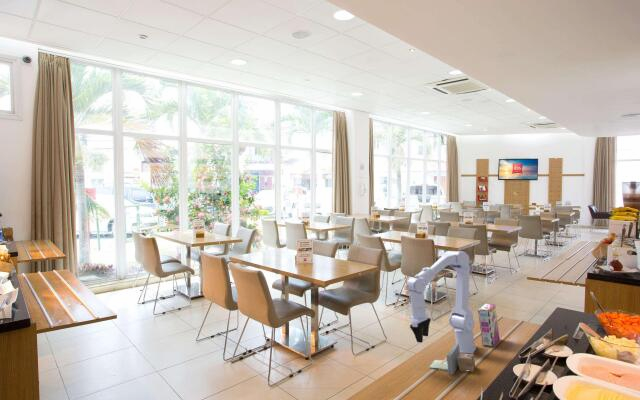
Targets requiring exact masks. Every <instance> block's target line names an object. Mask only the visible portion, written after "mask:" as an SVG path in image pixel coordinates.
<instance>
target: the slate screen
mask: <svg viewBox="0 0 640 400" xmlns="http://www.w3.org/2000/svg"><path fill="white" fill-rule="evenodd" d="M460 354H461V353H460V349H459V344H456V343H454V345H453V346H452V347H451V348H450V350H449V351H448V353H447V354H446V361H447V364H448V370H447V371H448V374H449V375H450V376H451V375H452V376H453V375H454V373H455V371H456V370H457V369H458V368H459V363H458V357H459V355H460Z"/></svg>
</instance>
